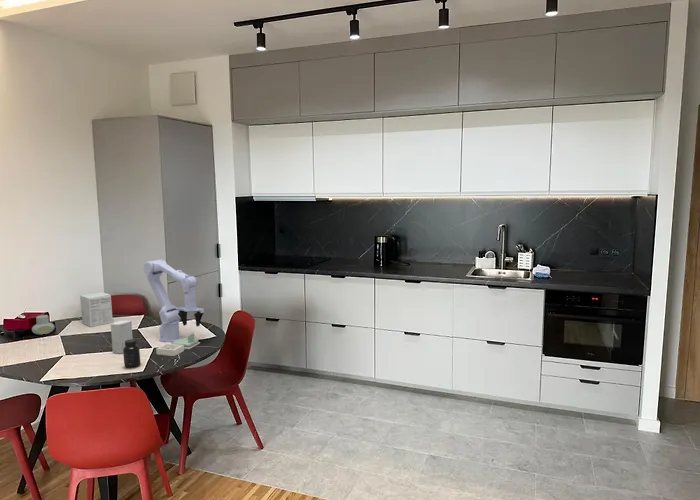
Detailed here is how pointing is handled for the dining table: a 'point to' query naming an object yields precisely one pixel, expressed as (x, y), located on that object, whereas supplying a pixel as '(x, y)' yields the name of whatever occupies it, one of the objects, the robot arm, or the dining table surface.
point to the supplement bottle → (131, 354)
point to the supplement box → (96, 309)
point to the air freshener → (43, 325)
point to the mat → (192, 345)
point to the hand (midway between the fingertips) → (191, 325)
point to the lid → (186, 341)
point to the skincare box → (120, 335)
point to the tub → (170, 349)
